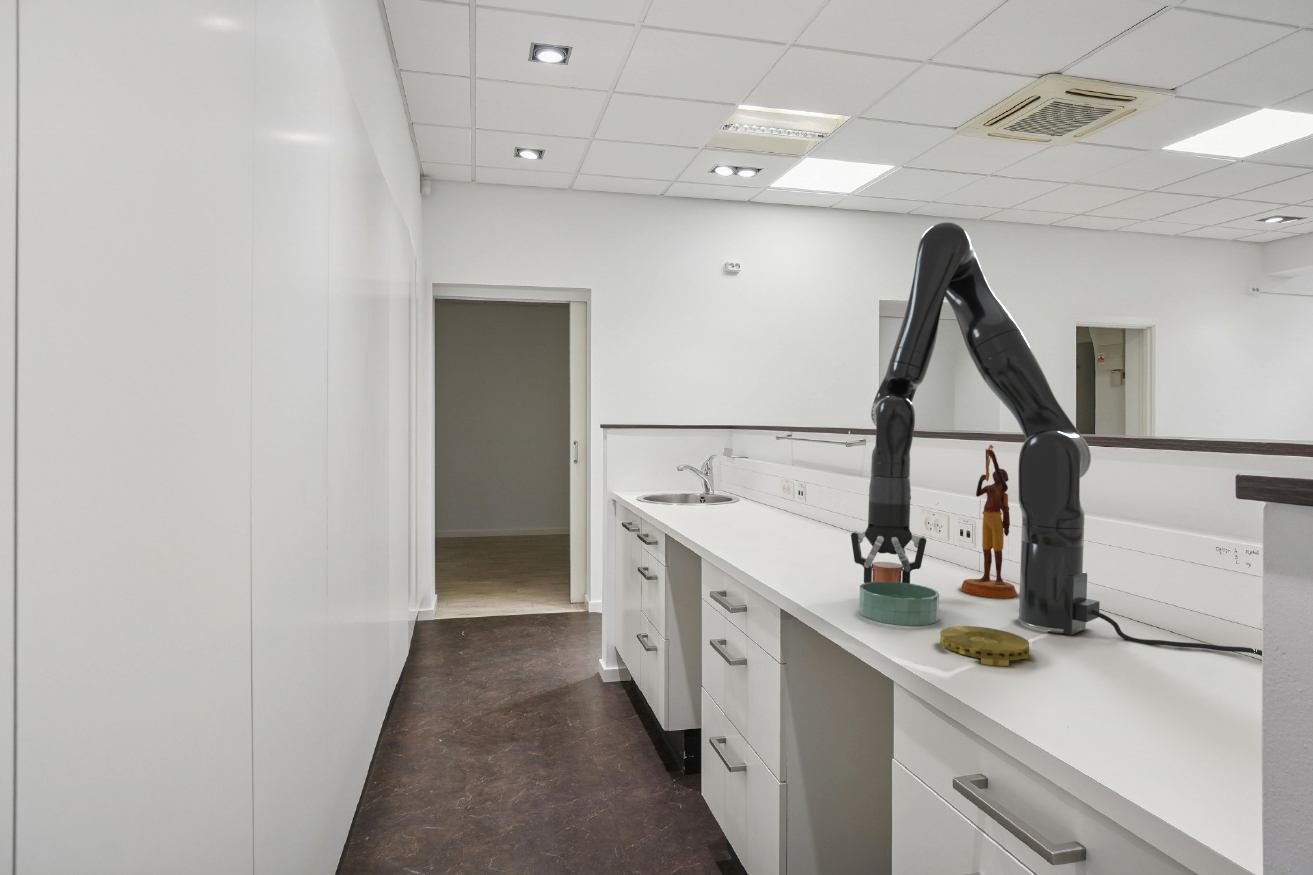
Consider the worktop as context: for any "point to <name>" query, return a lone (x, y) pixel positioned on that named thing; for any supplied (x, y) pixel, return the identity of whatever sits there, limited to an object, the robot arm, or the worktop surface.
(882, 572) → the orange cylinder
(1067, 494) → the robot arm
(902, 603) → the bowl
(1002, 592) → the sculpture
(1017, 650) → the olive yellow slotted disc
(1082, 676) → the worktop surface
